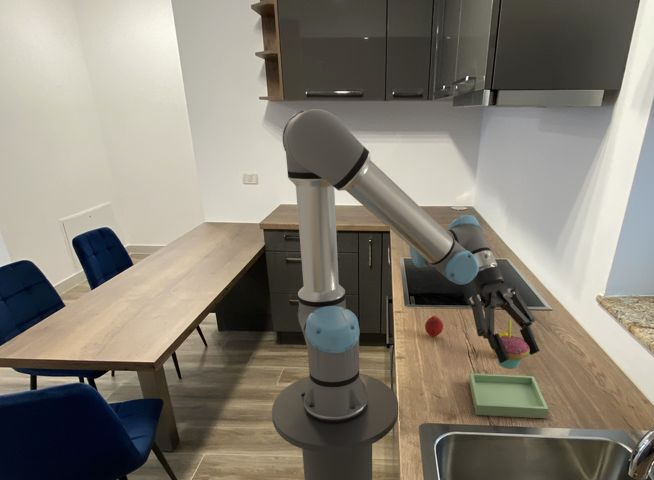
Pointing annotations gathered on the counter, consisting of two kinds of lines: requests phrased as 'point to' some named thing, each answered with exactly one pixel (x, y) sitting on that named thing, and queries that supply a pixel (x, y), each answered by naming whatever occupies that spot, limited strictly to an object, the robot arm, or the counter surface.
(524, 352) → the cupcake
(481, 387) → the tray
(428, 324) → the red textured round piece
